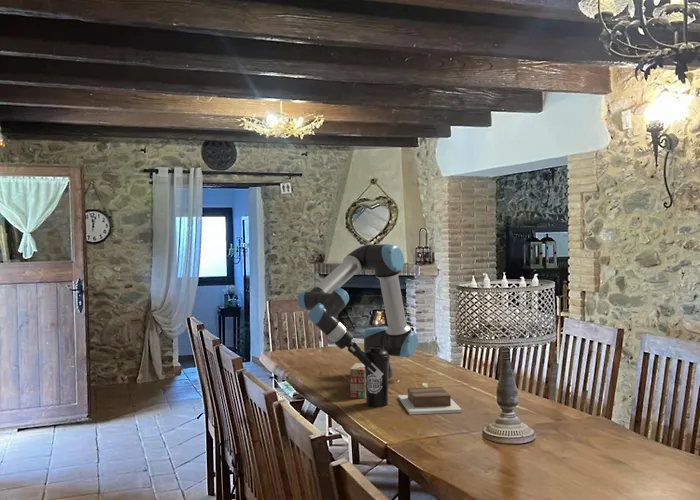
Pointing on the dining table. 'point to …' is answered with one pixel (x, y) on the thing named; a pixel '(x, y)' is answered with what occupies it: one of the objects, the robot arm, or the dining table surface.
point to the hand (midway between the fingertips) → (378, 372)
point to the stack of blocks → (357, 381)
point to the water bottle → (375, 386)
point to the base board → (428, 410)
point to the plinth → (429, 397)
